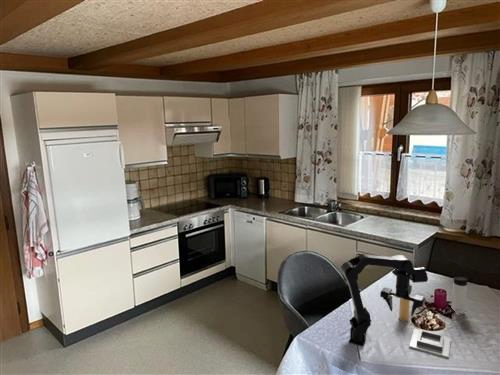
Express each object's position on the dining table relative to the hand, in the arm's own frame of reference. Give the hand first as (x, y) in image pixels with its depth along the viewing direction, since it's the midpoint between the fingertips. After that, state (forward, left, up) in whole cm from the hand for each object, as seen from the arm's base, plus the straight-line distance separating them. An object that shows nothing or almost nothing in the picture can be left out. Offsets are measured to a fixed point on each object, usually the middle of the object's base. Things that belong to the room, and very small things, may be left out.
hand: (401, 313), depth 173 cm
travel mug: (+23, +39, -13) cm, 47 cm away
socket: (+13, +3, -13) cm, 18 cm away
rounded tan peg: (-1, +19, -13) cm, 23 cm away
